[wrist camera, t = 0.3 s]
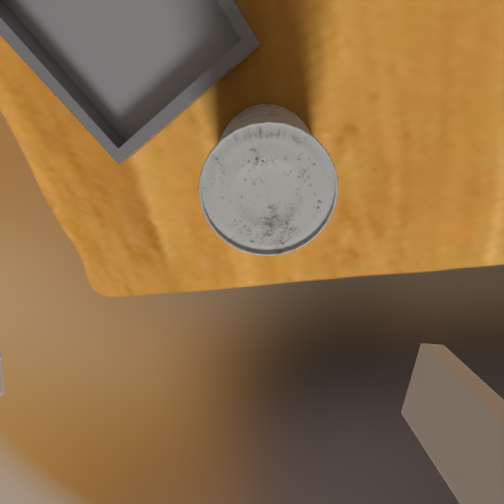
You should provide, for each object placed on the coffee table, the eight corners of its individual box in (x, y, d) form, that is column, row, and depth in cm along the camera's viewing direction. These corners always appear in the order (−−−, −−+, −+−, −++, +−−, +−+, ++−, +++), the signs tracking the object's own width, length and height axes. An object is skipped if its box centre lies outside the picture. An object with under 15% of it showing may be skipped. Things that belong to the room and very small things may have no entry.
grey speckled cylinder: (204, 177, 35) (179, 225, 24) (242, 84, 30) (231, 92, 20) (285, 214, 36) (295, 274, 26) (331, 131, 32) (366, 161, 21)
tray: (125, -173, 23) (102, -213, 20) (259, 45, 29) (259, 42, 26) (-7, -2, 28) (-42, -11, 25) (132, 155, 34) (118, 164, 30)
